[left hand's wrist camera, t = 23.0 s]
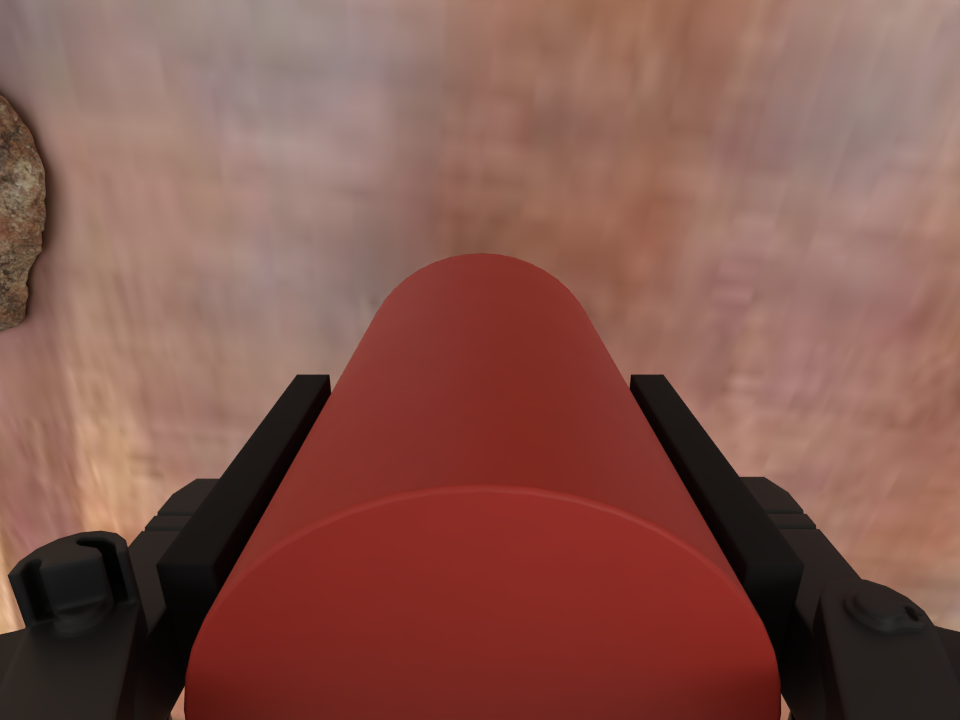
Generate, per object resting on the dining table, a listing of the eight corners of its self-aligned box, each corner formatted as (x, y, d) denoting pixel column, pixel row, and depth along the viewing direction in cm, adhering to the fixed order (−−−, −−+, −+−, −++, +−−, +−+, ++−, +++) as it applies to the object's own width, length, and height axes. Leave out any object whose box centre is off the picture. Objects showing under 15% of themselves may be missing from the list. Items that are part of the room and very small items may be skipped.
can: (373, 236, 17) (166, 444, 6) (621, 271, 17) (878, 531, 6) (356, 456, 19) (191, 894, 8) (573, 482, 19) (692, 937, 9)
